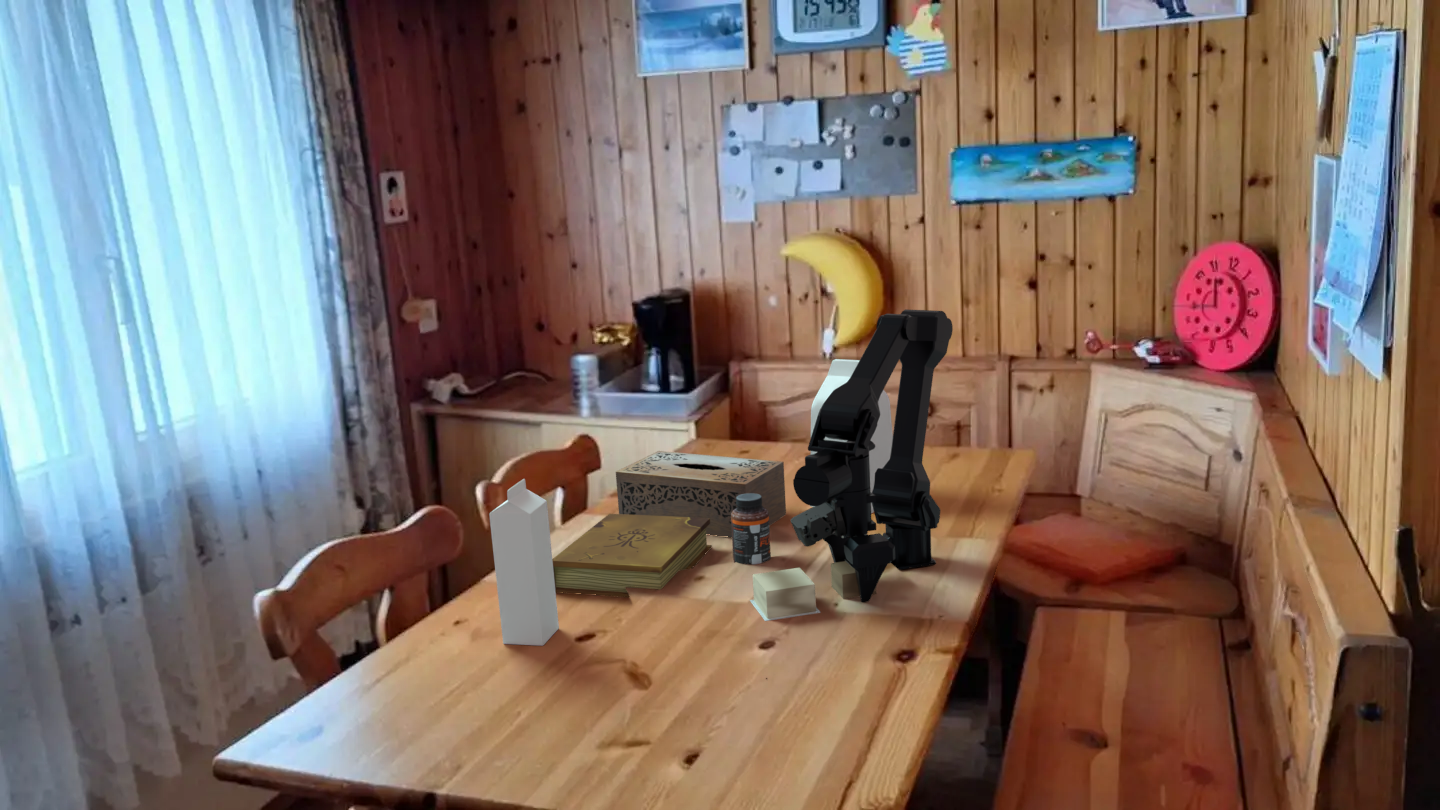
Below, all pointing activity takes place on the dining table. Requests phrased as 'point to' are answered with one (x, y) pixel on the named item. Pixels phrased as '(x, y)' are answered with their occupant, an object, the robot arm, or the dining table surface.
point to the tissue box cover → (699, 487)
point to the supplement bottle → (750, 530)
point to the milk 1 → (524, 568)
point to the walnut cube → (844, 580)
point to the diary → (630, 554)
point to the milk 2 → (883, 433)
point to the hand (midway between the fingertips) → (853, 590)
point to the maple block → (784, 593)
